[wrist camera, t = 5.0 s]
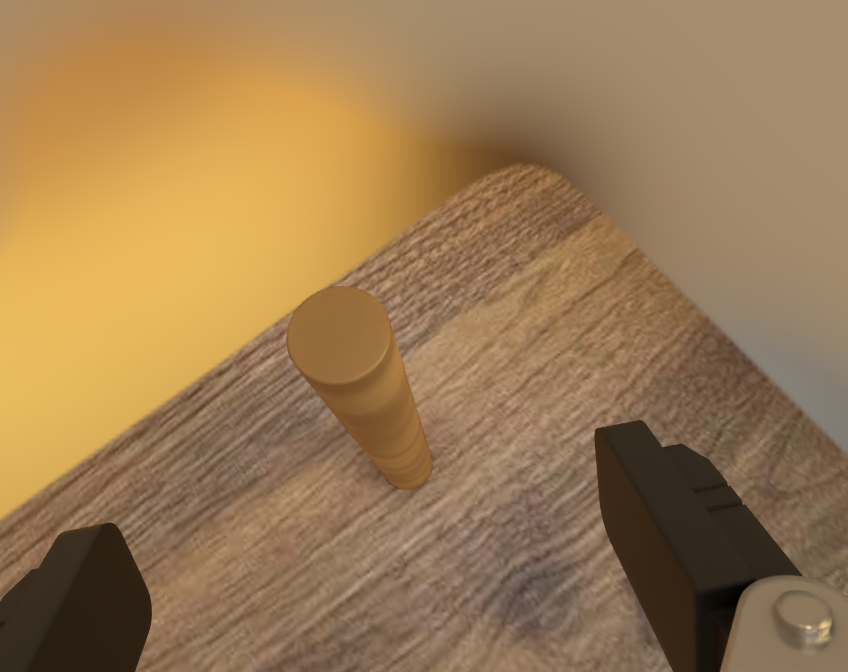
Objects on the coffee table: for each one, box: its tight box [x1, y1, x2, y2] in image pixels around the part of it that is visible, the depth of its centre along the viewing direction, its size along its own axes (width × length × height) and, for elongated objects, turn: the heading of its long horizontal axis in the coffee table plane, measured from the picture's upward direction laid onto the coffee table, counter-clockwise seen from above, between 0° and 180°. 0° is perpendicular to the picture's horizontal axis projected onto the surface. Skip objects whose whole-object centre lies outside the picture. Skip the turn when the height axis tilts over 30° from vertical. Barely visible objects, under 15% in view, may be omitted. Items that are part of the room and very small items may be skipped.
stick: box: [286, 286, 433, 490], centre depth 20 cm, size 2×2×15 cm
